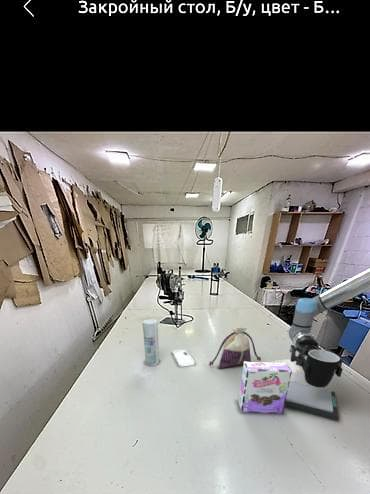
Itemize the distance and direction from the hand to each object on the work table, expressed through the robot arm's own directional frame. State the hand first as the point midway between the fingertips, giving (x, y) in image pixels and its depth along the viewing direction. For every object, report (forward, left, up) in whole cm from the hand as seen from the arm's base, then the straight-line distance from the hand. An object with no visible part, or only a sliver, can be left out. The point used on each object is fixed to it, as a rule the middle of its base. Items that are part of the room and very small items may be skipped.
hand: (323, 371), depth 74 cm
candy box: (+16, +8, -15) cm, 23 cm away
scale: (+1, -4, -15) cm, 15 cm away
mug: (+1, -4, -6) cm, 8 cm away
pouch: (+32, -18, -15) cm, 40 cm away
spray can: (+67, -3, -15) cm, 69 cm away
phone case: (+56, -13, -15) cm, 60 cm away
